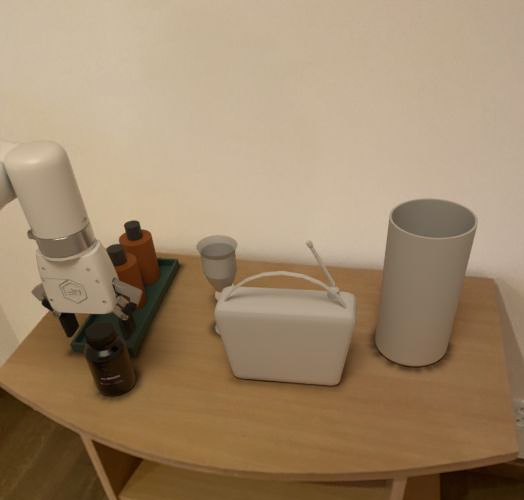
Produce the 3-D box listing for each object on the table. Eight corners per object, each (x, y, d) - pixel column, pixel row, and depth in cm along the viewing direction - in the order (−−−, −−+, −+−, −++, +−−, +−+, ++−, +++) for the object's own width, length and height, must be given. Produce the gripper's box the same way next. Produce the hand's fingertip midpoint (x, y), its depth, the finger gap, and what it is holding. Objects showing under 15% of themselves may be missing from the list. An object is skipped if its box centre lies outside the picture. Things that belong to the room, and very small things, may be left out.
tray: (134, 356, 94) (131, 347, 92) (73, 352, 96) (69, 343, 94) (179, 266, 116) (178, 258, 114) (129, 264, 118) (127, 257, 116)
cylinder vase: (382, 317, 98) (397, 194, 81) (449, 329, 94) (480, 203, 77) (368, 360, 89) (382, 232, 72) (442, 375, 85) (474, 244, 69)
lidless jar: (223, 307, 103) (243, 297, 105) (221, 295, 101) (242, 286, 103) (210, 295, 106) (231, 287, 108) (209, 284, 104) (229, 275, 106)
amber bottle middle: (107, 307, 105) (89, 252, 96) (130, 290, 109) (115, 236, 100) (131, 316, 102) (114, 261, 93) (154, 299, 106) (140, 244, 97)
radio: (352, 356, 90) (362, 229, 73) (350, 390, 84) (360, 260, 67) (232, 347, 94) (215, 225, 77) (222, 379, 88) (201, 254, 71)
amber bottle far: (123, 281, 112) (107, 227, 103) (144, 266, 116) (131, 213, 107) (146, 289, 109) (132, 235, 100) (167, 273, 113) (155, 220, 104)
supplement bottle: (112, 403, 85) (92, 350, 77) (89, 385, 89) (68, 332, 81) (144, 381, 89) (128, 328, 81) (121, 364, 92) (104, 311, 84)
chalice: (202, 329, 98) (187, 247, 86) (226, 311, 102) (215, 231, 90) (229, 343, 95) (218, 260, 83) (253, 325, 98) (246, 243, 86)
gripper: (-6, 251, 68) (41, 346, 80) (114, 253, 65) (145, 351, 77) (22, 224, 74) (62, 316, 85) (134, 225, 71) (160, 320, 82)
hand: (101, 333), depth 81 cm, fingers open, 9 cm apart
